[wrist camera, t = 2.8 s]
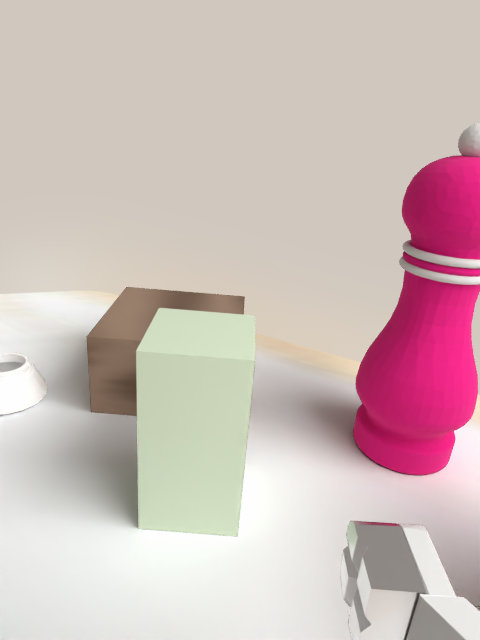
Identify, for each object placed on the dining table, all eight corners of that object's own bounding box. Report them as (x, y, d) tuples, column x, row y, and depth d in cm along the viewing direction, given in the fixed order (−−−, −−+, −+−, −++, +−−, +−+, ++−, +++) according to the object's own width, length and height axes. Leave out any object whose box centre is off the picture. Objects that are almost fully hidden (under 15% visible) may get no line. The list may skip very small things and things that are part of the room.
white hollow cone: (-43, 421, 30) (38, 418, 31) (-51, 381, 29) (34, 380, 30) (-17, 381, 35) (53, 380, 36) (-23, 346, 33) (50, 346, 34)
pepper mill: (426, 413, 35) (504, 128, 27) (479, 482, 28) (604, 130, 20) (333, 412, 34) (387, 118, 26) (365, 482, 27) (450, 116, 20)
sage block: (138, 528, 23) (136, 350, 19) (157, 461, 28) (159, 307, 24) (237, 536, 23) (255, 360, 19) (240, 468, 28) (255, 315, 24)
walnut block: (91, 414, 32) (86, 336, 30) (127, 350, 41) (126, 287, 39) (234, 426, 32) (241, 349, 30) (239, 359, 41) (244, 296, 39)
